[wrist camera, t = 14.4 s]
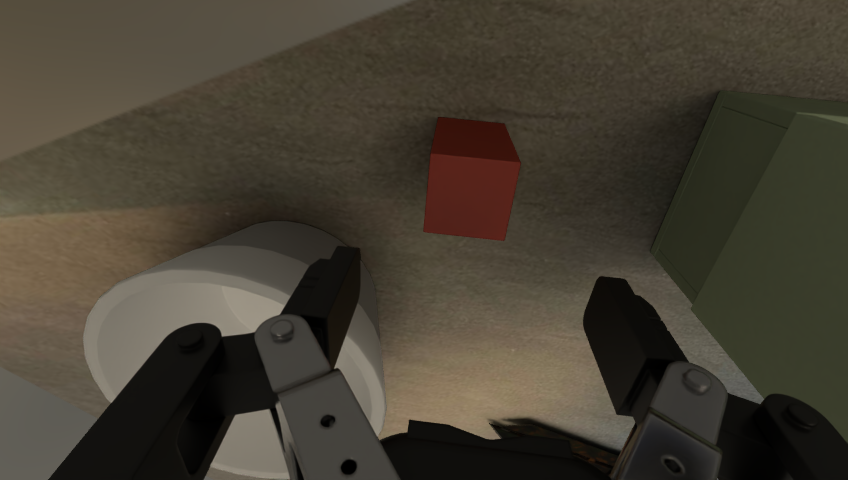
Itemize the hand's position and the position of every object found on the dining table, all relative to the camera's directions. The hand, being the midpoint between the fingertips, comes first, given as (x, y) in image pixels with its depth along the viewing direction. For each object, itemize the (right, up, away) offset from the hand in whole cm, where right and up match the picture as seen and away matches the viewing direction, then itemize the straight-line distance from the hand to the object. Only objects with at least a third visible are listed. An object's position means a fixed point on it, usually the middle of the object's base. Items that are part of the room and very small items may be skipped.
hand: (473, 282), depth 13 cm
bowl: (-13, -3, +21) cm, 25 cm away
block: (+1, +7, +14) cm, 16 cm away
